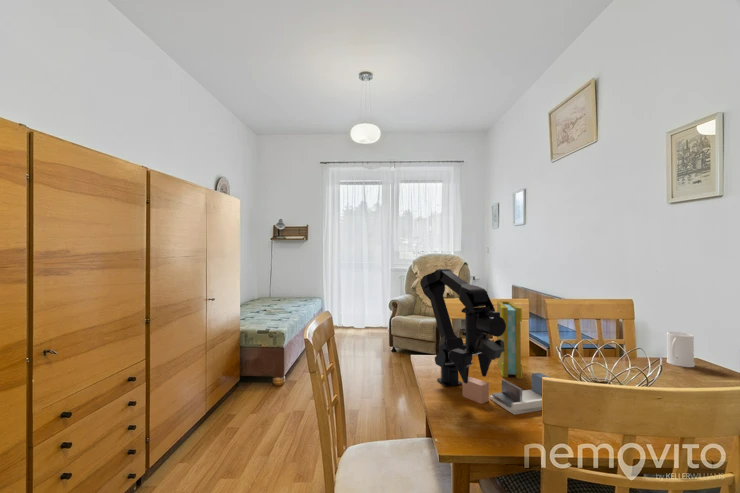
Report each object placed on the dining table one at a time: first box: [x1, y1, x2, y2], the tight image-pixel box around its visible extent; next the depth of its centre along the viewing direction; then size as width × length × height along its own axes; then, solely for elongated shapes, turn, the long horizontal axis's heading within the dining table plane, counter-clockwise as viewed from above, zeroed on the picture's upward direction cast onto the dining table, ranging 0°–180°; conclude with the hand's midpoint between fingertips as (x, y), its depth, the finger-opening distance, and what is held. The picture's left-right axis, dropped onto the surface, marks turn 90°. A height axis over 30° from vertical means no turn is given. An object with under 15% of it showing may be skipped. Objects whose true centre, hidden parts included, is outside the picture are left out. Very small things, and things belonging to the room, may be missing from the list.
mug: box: [666, 331, 696, 368], centre depth 141 cm, size 12×8×12 cm
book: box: [496, 300, 523, 379], centre depth 135 cm, size 17×7×25 cm, turn 168°
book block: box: [462, 376, 490, 405], centre depth 109 cm, size 7×4×6 cm, turn 37°
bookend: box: [491, 379, 523, 407], centre depth 104 cm, size 8×4×4 cm, turn 17°
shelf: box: [489, 372, 552, 415], centre depth 106 cm, size 11×19×6 cm, turn 107°
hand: (475, 379), depth 109 cm, fingers open, 9 cm apart
